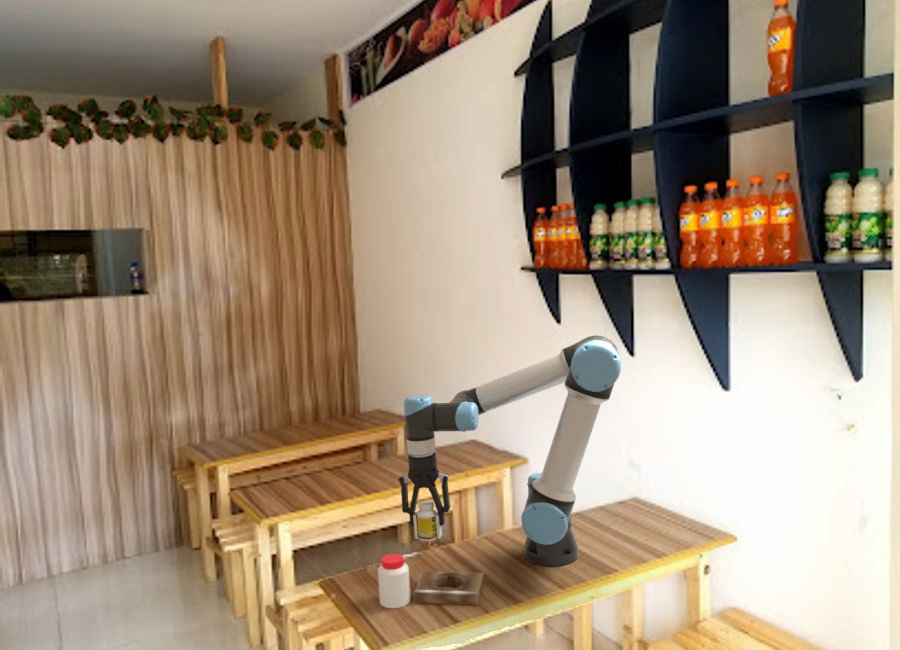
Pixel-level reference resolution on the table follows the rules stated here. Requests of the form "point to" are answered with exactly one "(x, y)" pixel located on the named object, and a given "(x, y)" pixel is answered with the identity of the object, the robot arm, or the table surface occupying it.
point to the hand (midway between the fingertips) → (428, 536)
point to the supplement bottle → (426, 521)
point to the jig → (464, 594)
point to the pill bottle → (394, 582)
